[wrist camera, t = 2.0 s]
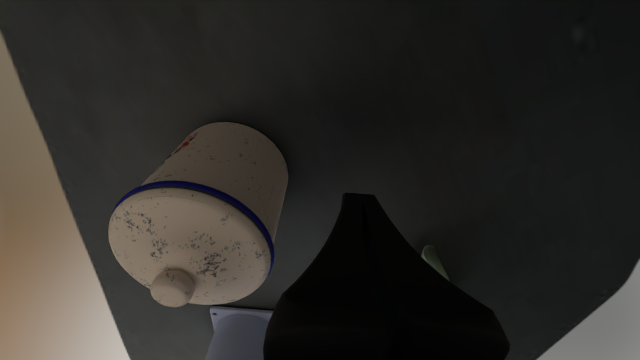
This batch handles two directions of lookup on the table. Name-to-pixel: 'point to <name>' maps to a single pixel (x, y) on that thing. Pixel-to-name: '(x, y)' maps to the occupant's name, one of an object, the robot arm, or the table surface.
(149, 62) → the table surface
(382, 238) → the robot arm
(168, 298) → the teacup with lid
